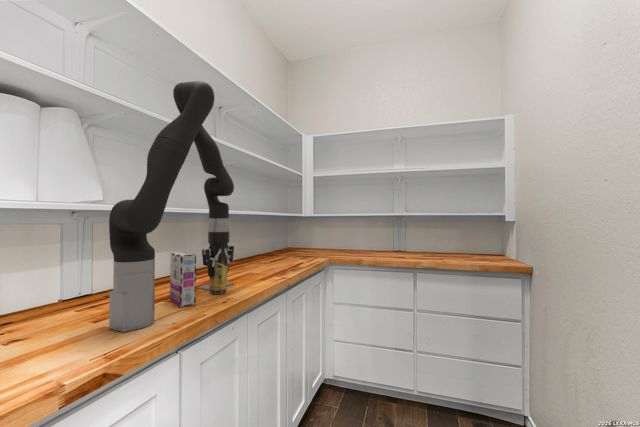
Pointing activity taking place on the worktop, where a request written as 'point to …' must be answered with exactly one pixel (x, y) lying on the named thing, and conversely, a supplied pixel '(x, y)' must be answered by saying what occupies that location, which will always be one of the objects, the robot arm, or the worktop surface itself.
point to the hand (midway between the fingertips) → (218, 275)
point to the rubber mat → (208, 286)
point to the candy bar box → (183, 279)
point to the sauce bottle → (219, 273)
